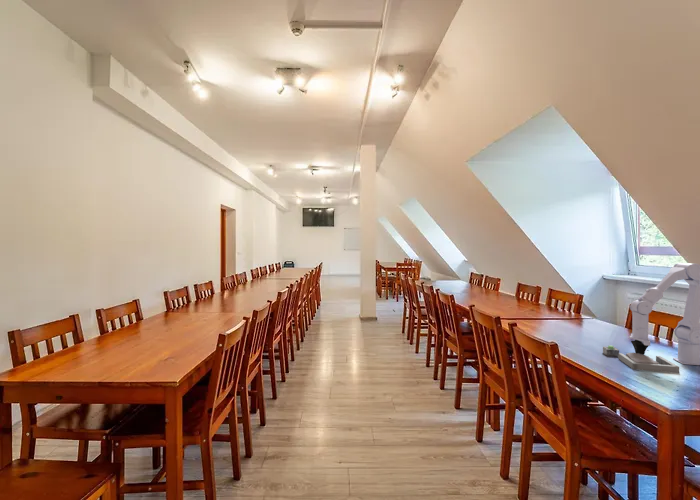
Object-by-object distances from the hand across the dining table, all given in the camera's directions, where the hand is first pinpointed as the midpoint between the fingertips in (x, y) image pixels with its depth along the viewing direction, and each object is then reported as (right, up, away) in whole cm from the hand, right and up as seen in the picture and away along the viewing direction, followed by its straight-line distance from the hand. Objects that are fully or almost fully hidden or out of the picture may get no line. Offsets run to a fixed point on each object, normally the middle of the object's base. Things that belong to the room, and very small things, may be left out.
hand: (639, 357), depth 170 cm
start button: (-7, -1, +9) cm, 11 cm away
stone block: (-3, -2, -6) cm, 7 cm away
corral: (-2, -2, -7) cm, 7 cm away
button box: (-7, -1, +9) cm, 11 cm away
